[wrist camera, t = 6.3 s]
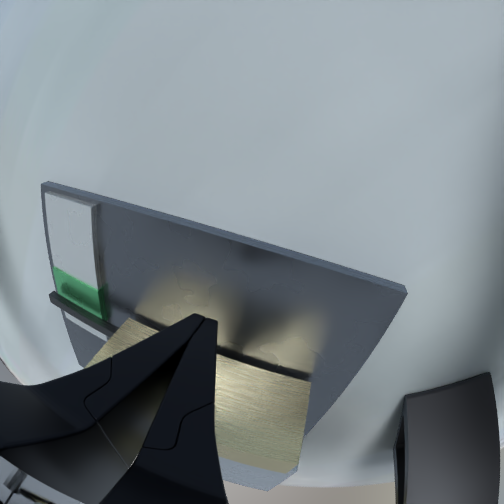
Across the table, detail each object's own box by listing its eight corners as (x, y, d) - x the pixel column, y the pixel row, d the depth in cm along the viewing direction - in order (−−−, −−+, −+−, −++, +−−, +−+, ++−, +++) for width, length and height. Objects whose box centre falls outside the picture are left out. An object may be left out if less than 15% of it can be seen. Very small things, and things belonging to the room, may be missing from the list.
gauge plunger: (311, 382, 12) (298, 464, 8) (271, 439, 16) (255, 495, 12) (57, 280, 14) (8, 319, 10) (80, 357, 18) (48, 394, 14)
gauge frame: (404, 285, 10) (433, 368, 6) (290, 445, 18) (279, 494, 14) (48, 181, 12) (-14, 207, 8) (83, 360, 20) (54, 393, 16)
